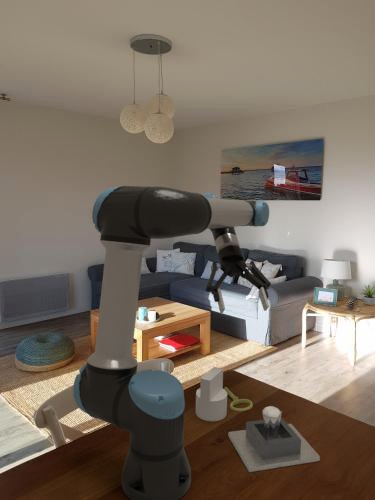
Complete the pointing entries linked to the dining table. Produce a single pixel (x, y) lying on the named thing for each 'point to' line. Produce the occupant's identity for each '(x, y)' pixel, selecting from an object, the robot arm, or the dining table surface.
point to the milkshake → (271, 422)
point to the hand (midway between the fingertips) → (245, 309)
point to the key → (238, 401)
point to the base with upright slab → (211, 396)
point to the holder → (271, 447)
